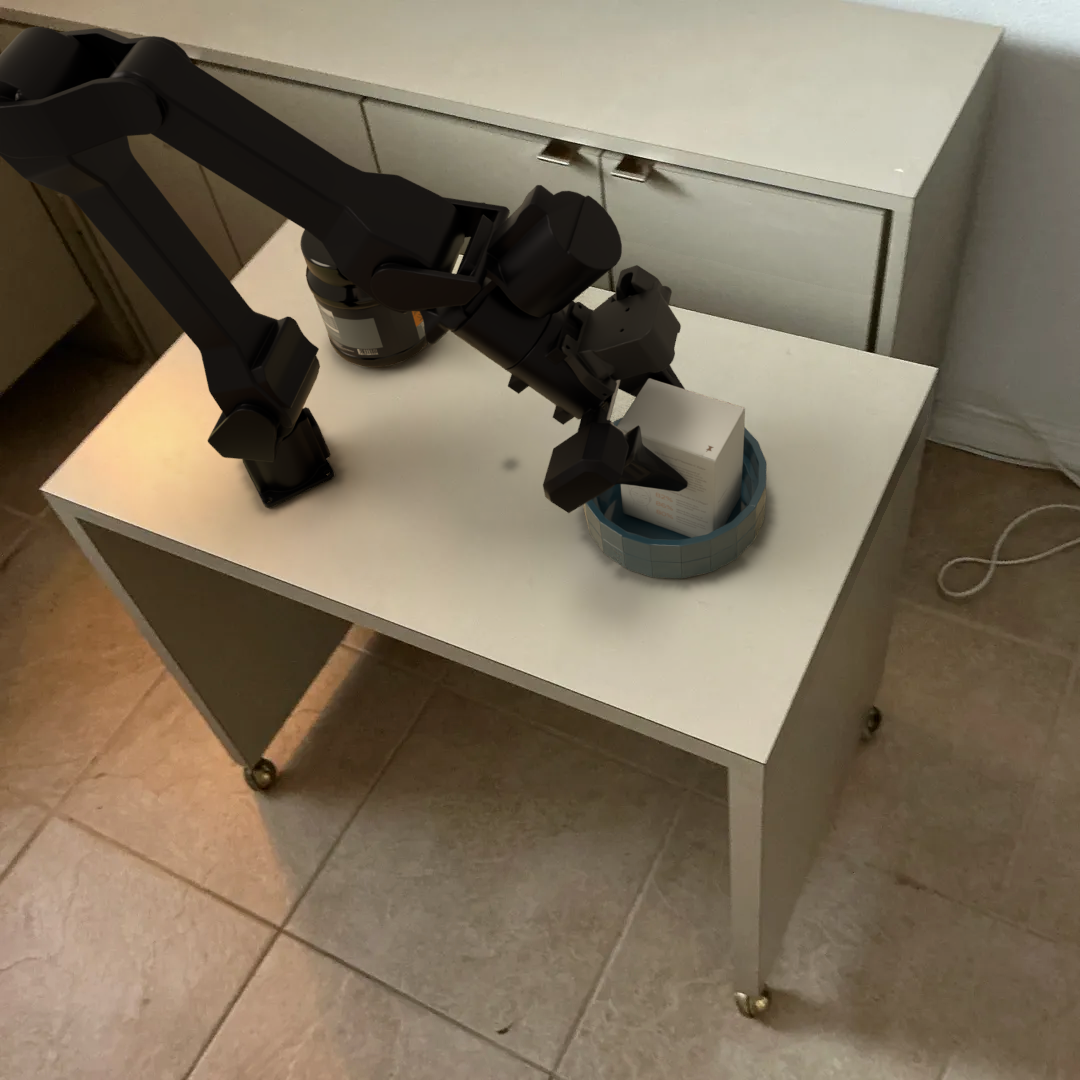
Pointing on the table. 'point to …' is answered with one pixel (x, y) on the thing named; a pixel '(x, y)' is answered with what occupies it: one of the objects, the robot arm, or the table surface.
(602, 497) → the bowl
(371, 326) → the supplement container
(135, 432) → the table surface
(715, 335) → the table surface
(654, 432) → the small box
